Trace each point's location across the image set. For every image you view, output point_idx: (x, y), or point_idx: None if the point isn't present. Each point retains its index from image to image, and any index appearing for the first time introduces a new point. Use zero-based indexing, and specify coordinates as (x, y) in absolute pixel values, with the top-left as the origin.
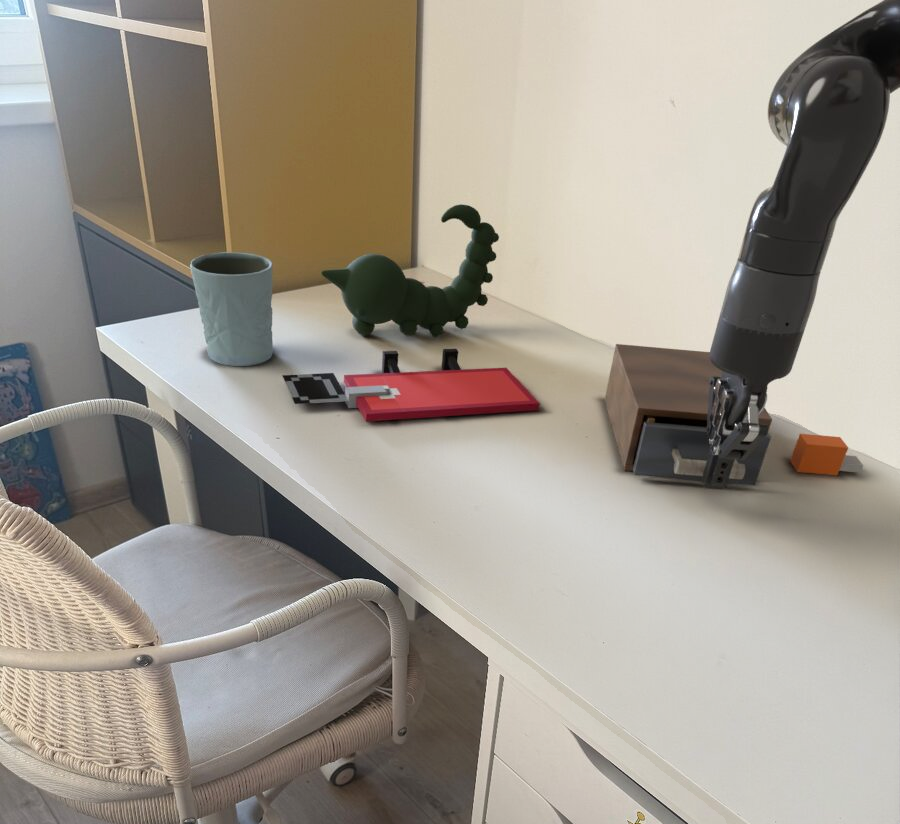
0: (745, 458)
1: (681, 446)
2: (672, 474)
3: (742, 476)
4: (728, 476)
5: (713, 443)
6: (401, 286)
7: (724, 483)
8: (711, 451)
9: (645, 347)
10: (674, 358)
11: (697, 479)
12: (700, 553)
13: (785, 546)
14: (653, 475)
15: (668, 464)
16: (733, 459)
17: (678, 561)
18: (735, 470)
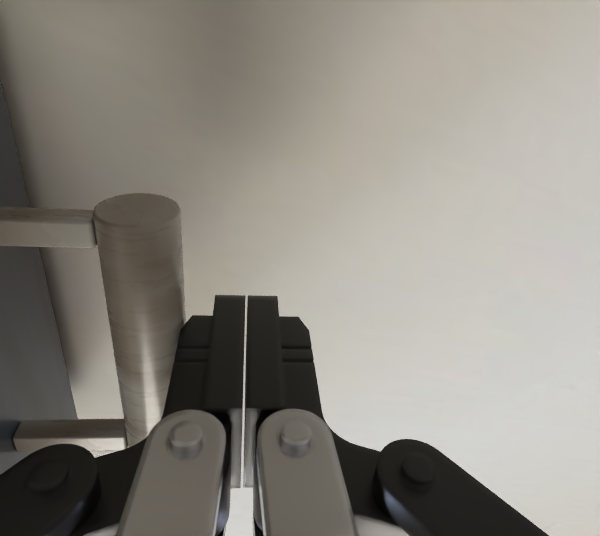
0: (447, 459)
1: (1, 439)
2: (55, 349)
3: (180, 213)
4: (277, 329)
5: (225, 529)
6: None
7: (306, 332)
8: (234, 487)
9: None
10: None
11: (39, 261)
12: (464, 311)
13: (462, 10)
14: (69, 389)
15: (45, 395)
16: (331, 430)
17: (489, 363)
18: (174, 265)
